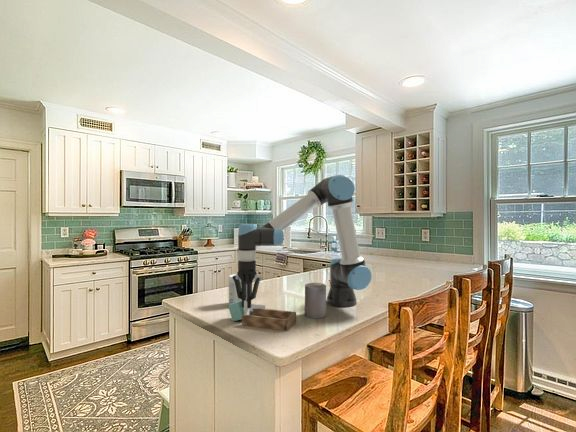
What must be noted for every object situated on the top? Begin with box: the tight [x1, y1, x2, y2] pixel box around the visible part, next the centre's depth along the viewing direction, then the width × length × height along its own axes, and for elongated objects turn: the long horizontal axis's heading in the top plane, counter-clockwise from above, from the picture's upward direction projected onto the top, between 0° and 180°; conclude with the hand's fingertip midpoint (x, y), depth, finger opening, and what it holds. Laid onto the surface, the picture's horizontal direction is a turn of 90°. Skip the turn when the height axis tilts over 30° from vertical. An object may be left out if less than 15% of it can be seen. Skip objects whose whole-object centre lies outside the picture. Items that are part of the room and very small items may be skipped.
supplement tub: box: [228, 273, 242, 305], centre depth 158 cm, size 10×10×15 cm
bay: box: [241, 308, 297, 332], centre depth 131 cm, size 20×11×4 cm, turn 72°
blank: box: [227, 300, 244, 322], centre depth 135 cm, size 5×6×7 cm
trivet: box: [249, 303, 266, 315], centre depth 145 cm, size 10×10×2 cm
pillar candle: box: [304, 281, 327, 319], centre depth 142 cm, size 10×10×15 cm
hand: (246, 315), depth 134 cm, fingers closed
